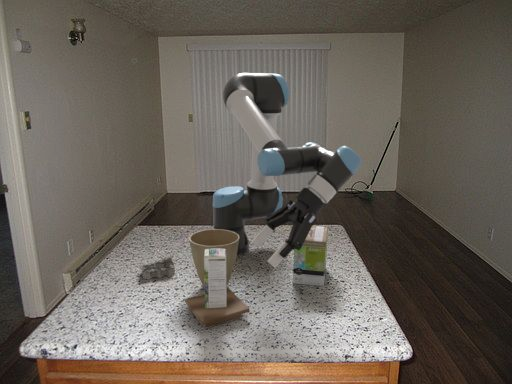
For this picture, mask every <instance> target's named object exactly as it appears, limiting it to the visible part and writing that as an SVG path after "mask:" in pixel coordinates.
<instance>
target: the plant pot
mask: <svg viewBox="0 0 512 384" xmlns="http://www.w3.org/2000/svg"><path fill="white" fill-rule="evenodd" d="M188 240H189V241H188V242H189V245H190V251H191V256H192V260H193V263H194V267H195V271H196V272H197V276H198V278H199V281H200V283H201V286H202V287H203V288H202V289H204V290H205V286H204V254H205V249H213V248H220V249H226V276H227V286H228V284H229V282H230V279H231V276H232V273H233V270H234V267H235V264H236V259H237V256H238V255H237V250H238V244H239V235H238V234H237V233H235V232H232V231H229V230H222V229H214V228H212V229H211V228H210V229H203V230H199V231H196V232H193V233H192V234H191V235H190V236H189V237H188Z"/></svg>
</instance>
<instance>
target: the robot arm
mask: <svg viewBox="0 0 512 384" xmlns="http://www.w3.org/2000/svg"><path fill="white" fill-rule="evenodd" d="M222 100H223V103H224V106H225V108H226V109H227V111H228V112H229V113H230V114H231V115H234V116H235V118H236V119H237V121H238V123H239V124H240V125H241V127H242V129H243V130H244V132H245V133H246V134H247V137H248V138H249V140H250V142H252V143H251V145H252V147H251V149H252V150H251V175H250V176H251V178H250V180H249V181H248V182H247V183H246V189H244V187H242V186H238V185H237V186H235V185H233V186H225V187H222V188H220V189H218V190H216V191H214V193H213V195H212V204H211V205H212V214H213V215H212V217H213V218H212V220H213V229H222V230H229V231H232V232H235V233H237V234H238V235H239V244H238V250H237V255H236V256H238V255H242V254H245V253H247V252H248V251H249V250H250V243H251V244H252V245H254V246H255V247H256V248H257V249H259V248H260V247H261V246H262V245H263V244H264V242H266V240H267V239H268V238H269V237H270V236H271V235H272V234H273V233H274V231H276V230H275V229H276V228H278V227H280V226H282V225H284V224H286V223H288V222H291V223H292V227H291V228H290V229H291V230H290V232H289V235H288V238H287V239H286V240H284V242H283V243H281V245H280V246H279V247H278V248H277V249H276V250H275V251H274V252H273V254H272V255H271V256H270V257H269V259H267V263H268V264H270V265H271V266H272V267H273V268H275V269H276V268H278V267H277V266H279V264H280V263H281V262H282V261H283V260H284V259H285V258H287V256H288V255H289V254H290V253H291V252H292V251H294V249H297V250H300V249H301V248H302V245H303V243H304V241H305V239H306V237H307V235H308V233H309V231H310V229H311V227H312V226H314V224H315V223H316V222H317V221H318V218H316V216H317V215H318V214H319V213H320V212H321V211H322V210H323V209H324V208H325V204H328V203H329V202H330V200H332V199H333V198H334V197H335V195H336V194H337V193H338V192H339V191H340V189H341V188H342V187H344V185H345V184H346V183H347V182H349V180H350V179H351V178H352V177H353V176H354V175H355V173H356V172H357V171H358V170H359V168H360V167H361V166H362V163H363V162H362V159H361V157H360V156H359V155H358V153H357V152H356V151H354V150H353V149H352V148H350V147H348V146H347V145H343V146H340V147H339V148H338V149H337V150H336V151H334V150H331V148H330V149H329V148H328V147H325V146H323V144H320V143H316V142H312V141H310V142H306V143H305V144H303V145H302V146H291V147H290V146H289V147H288V146H286V144H285V143H284V141H283V140H282V139H281V137H280V136H279V135H278V133H277V127H278V126H277V125H278V117H279V116H280V115H281V114H282V108H284V107H286V106H287V105H288V102H289V100H290V88H289V85H288V82H287V81H286V79H285V77H284V76H283V75H281V74H278V73H271V72H268V73H267V72H262V73H261V72H241V73H237V74H235V75H232V76H231V78H229V79H228V80H227V81H226V83H225V85H224V87H223V91H222ZM307 173H315V174H314V175H313V177H312V178H311V179H310V180H309V181H308V182H307V183H306V185H305V186H306V187H303V188H302V189H301V190H300V191H299V192H298V193H297V195H296V196H295V198H296V200H297V201H296V202H294V201H293V200H292V199H290V200H289V201H288V202H286V203H285V204H284V205H283V201H284V198H283V195H282V194H283V192H282V190H281V189H280V187H279V186H278V183H277V182H276V181H275V179H274V177H279V176H285V175H297V174H307ZM315 215H316V216H315ZM264 218H265V222H266V223H265V226H264V227H263V228H262V229H260V231H259V232H258V233H257V235H256V236H255V237H254V238H253V239H252V240H251V241H249V238H248V235H247V233H246V230H245V221H250V220H251V221H252V220H257V219H264ZM298 243H299V244H298Z"/></svg>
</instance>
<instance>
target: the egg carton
mask: <svg viewBox="0 0 512 384" xmlns="http://www.w3.org/2000/svg"><path fill="white" fill-rule="evenodd" d="M140 268H141V274H142V279H146V280H150V279H151V278H154V277H156V278H157V279H158V278H159V279H160V278H162V277H163V276H169V277H172V275H174V274H175V273H176V272H175V268H176V266H175V263H174V260H173V257H172V256H170V257H164V258H162V259H161V260H157V261H155V262H150V263H147V264H140Z"/></svg>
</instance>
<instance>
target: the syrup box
mask: <svg viewBox="0 0 512 384" xmlns="http://www.w3.org/2000/svg"><path fill="white" fill-rule="evenodd" d="M204 286H205V289H204V294H205V308H206V309H209V308H223V307H227V287H228V285H227V276H226V249H220V248H213V249H205V254H204Z"/></svg>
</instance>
